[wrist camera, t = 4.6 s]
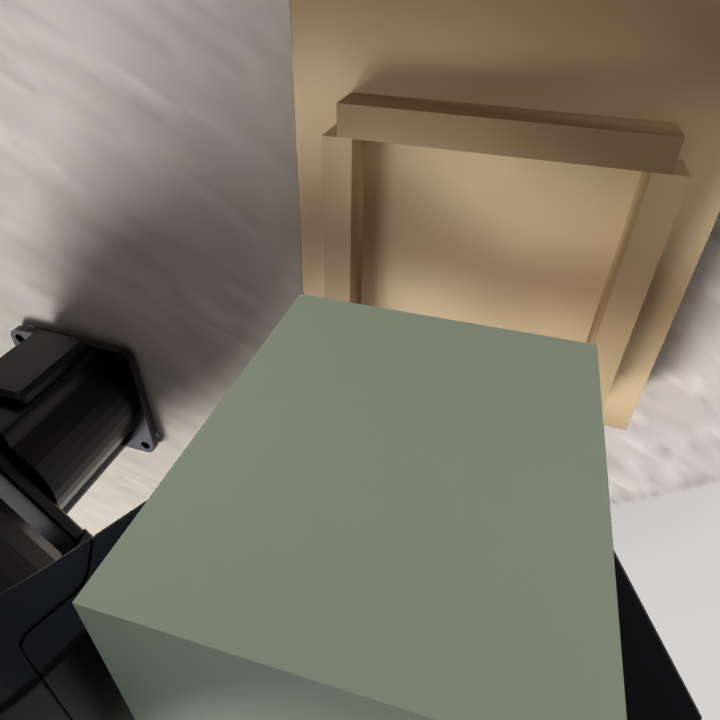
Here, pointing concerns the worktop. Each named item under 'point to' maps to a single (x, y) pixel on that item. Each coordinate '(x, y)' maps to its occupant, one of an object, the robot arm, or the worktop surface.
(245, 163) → the worktop surface
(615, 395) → the base slab
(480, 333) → the sage block
